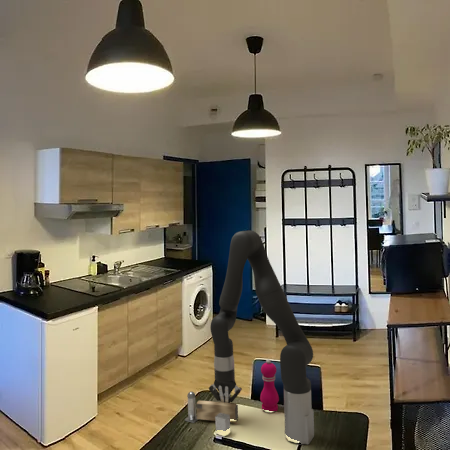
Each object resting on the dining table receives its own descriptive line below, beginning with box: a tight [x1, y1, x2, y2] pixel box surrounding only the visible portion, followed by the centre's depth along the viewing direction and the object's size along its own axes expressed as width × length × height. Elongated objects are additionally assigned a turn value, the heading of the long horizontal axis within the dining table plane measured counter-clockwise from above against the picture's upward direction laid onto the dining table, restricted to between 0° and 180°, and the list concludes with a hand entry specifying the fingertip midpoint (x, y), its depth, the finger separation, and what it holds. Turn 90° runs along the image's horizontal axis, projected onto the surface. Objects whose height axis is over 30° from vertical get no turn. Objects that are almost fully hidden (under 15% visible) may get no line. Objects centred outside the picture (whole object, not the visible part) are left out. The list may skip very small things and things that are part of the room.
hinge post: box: [184, 391, 199, 424], centre depth 164 cm, size 4×4×11 cm
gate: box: [196, 400, 239, 421], centre depth 162 cm, size 15×3×6 cm, turn 77°
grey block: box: [215, 413, 231, 432], centre depth 154 cm, size 4×4×6 cm
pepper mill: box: [259, 358, 280, 412], centre depth 170 cm, size 7×7×20 cm
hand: (225, 411), depth 164 cm, fingers closed
